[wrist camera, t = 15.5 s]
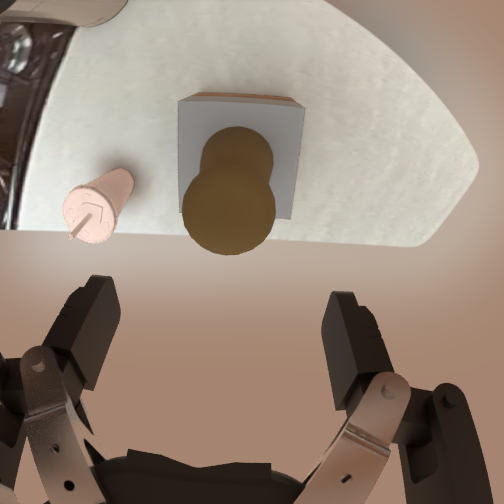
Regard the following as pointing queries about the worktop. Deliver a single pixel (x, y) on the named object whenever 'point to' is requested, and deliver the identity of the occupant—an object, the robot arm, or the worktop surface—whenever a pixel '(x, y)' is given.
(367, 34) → the worktop surface
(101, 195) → the smoothie
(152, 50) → the worktop surface
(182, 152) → the slate top block
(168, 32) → the worktop surface
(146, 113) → the worktop surface
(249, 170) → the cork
